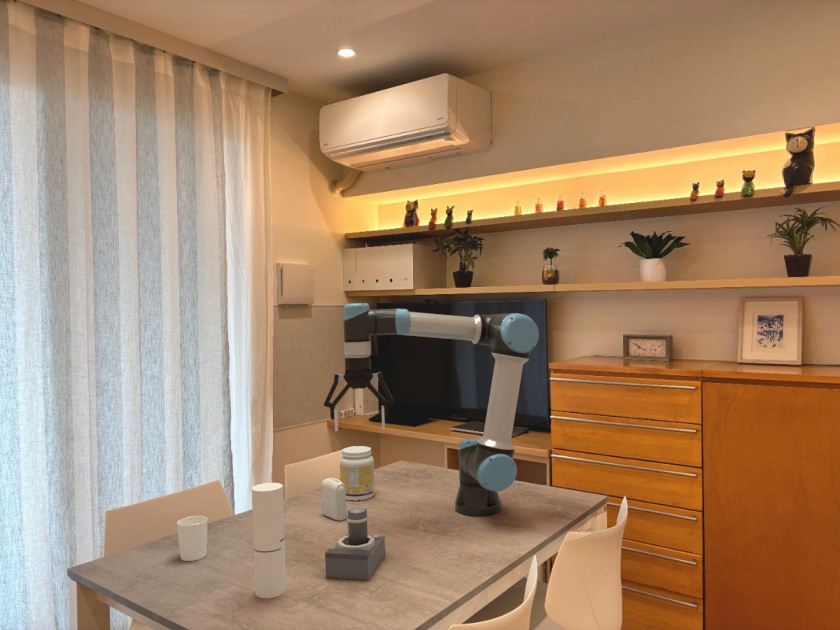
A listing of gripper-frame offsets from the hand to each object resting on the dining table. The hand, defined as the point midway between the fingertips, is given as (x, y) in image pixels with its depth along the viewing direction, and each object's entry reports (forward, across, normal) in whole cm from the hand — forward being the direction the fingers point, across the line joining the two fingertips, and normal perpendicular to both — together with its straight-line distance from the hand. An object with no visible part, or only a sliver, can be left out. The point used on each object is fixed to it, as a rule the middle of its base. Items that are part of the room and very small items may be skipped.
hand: (360, 429), depth 181 cm
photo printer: (+32, +10, -20) cm, 39 cm away
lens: (+27, 0, +19) cm, 33 cm away
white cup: (+32, +46, +7) cm, 57 cm away
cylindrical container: (+32, +21, +32) cm, 50 cm away
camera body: (+32, +1, +19) cm, 37 cm away
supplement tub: (+32, +3, -41) cm, 52 cm away
